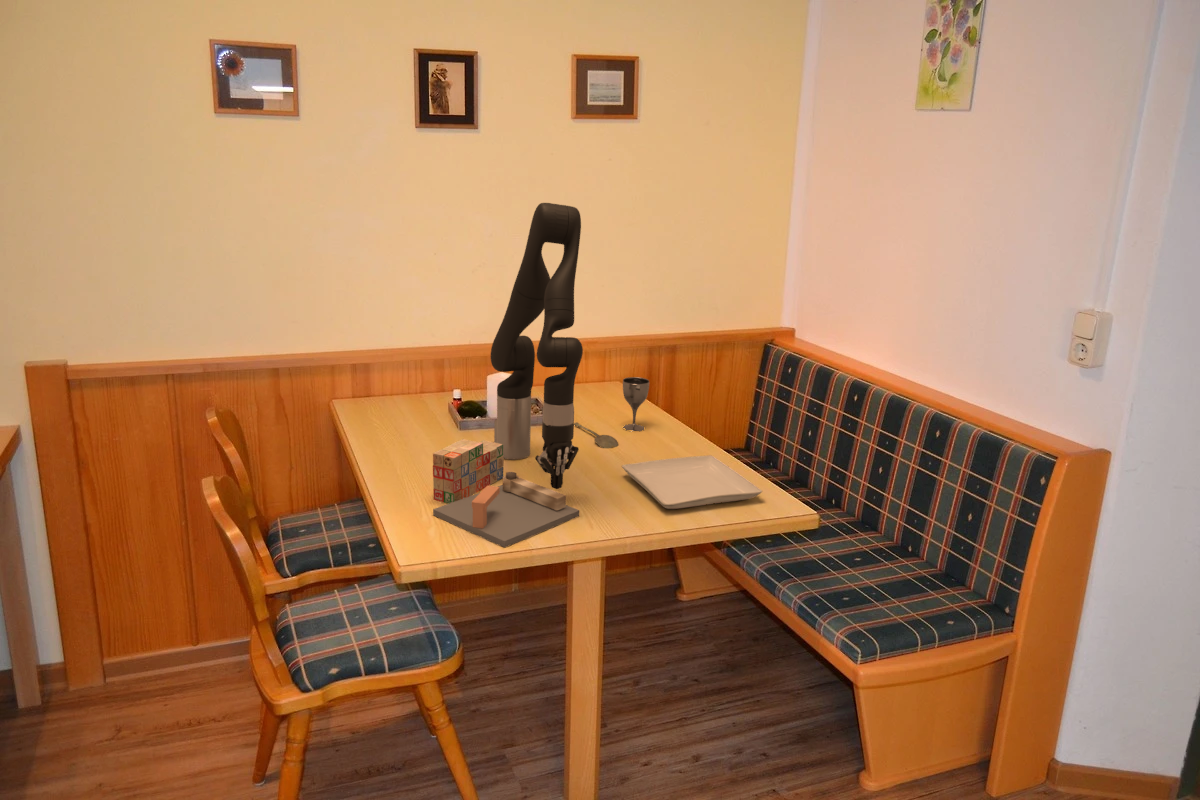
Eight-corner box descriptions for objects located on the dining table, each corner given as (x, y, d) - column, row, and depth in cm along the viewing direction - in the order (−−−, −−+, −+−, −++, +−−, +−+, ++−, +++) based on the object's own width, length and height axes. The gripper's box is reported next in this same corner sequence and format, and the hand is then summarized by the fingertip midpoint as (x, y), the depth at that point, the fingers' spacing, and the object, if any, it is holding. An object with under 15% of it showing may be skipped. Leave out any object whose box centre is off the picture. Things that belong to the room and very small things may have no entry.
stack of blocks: (483, 473, 241) (483, 428, 238) (503, 478, 239) (504, 433, 235) (432, 500, 223) (432, 452, 220) (454, 505, 221) (453, 457, 217)
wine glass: (651, 427, 283) (654, 380, 279) (638, 433, 277) (640, 385, 272) (629, 422, 287) (631, 375, 283) (615, 428, 281) (617, 380, 277)
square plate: (619, 477, 243) (619, 463, 242) (711, 466, 253) (712, 453, 252) (663, 517, 219) (664, 502, 218) (763, 504, 229) (764, 489, 228)
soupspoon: (602, 453, 262) (621, 451, 266) (603, 442, 261) (623, 440, 265) (566, 428, 280) (585, 426, 284) (567, 417, 279) (586, 416, 283)
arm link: (499, 488, 226) (499, 473, 225) (511, 484, 229) (511, 469, 228) (555, 511, 215) (555, 495, 214) (567, 506, 218) (567, 490, 216)
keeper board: (432, 515, 214) (432, 485, 212) (508, 488, 232) (508, 460, 230) (504, 547, 199) (504, 515, 197) (579, 516, 217) (580, 486, 215)
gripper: (566, 410, 226) (564, 476, 231) (526, 421, 217) (525, 490, 222) (588, 417, 221) (586, 485, 226) (549, 429, 212) (547, 499, 217)
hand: (556, 487), depth 224 cm, fingers closed
